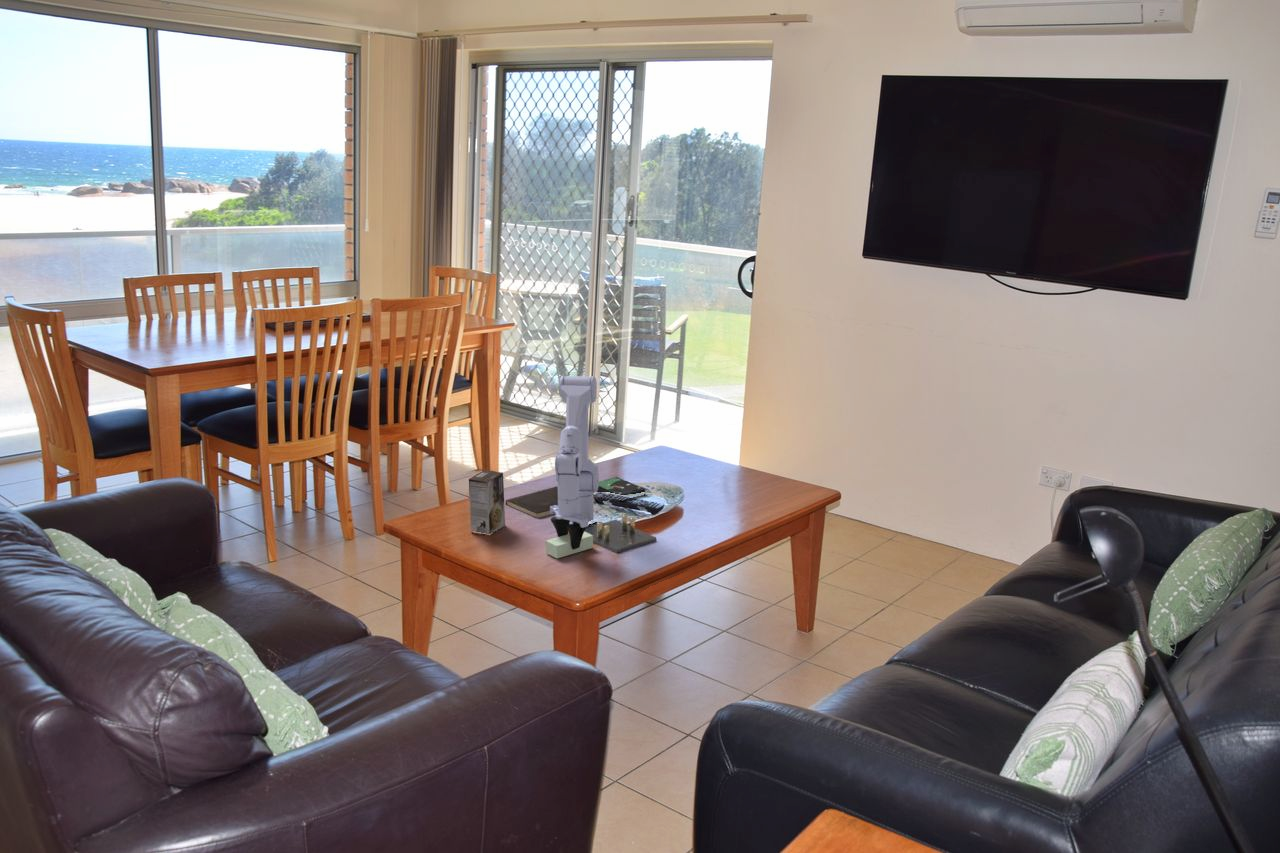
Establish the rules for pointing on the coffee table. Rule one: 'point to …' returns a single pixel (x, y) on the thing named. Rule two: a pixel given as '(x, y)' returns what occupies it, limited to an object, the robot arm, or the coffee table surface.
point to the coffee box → (487, 501)
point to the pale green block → (567, 545)
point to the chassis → (619, 535)
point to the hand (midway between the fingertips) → (569, 545)
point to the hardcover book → (536, 502)
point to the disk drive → (619, 487)
